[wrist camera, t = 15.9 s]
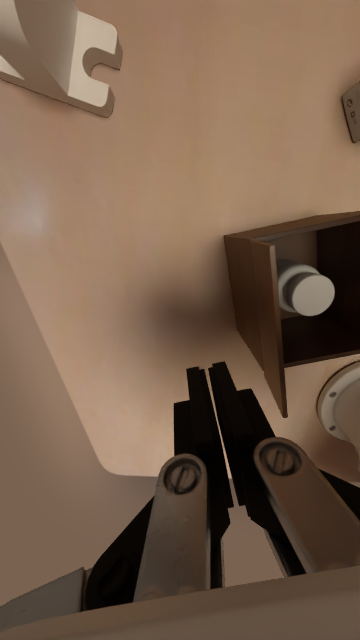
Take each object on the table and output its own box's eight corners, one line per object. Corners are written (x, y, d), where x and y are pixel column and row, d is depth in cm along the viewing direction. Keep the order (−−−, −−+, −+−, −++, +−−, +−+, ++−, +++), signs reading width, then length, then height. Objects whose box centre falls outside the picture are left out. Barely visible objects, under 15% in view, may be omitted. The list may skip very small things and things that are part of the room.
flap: (288, 417, 16) (283, 418, 16) (267, 375, 20) (264, 376, 20) (275, 244, 12) (269, 245, 12) (254, 239, 17) (249, 240, 17)
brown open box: (319, 313, 29) (383, 349, 20) (236, 329, 30) (263, 372, 21) (318, 215, 26) (394, 207, 17) (223, 235, 26) (249, 238, 17)
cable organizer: (110, 119, 22) (65, 39, 13) (-5, 77, 21) (-146, -44, 12) (123, 45, 21) (82, -107, 11) (-1, -5, 20) (-162, -222, 10)
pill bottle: (248, 274, 27) (276, 290, 20) (284, 249, 26) (327, 257, 19) (268, 305, 28) (301, 332, 21) (303, 283, 28) (350, 302, 20)
